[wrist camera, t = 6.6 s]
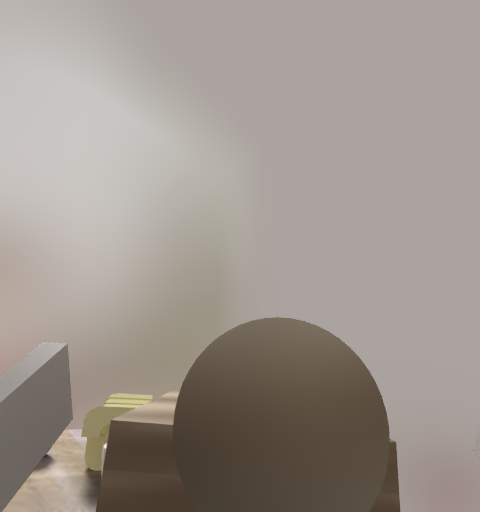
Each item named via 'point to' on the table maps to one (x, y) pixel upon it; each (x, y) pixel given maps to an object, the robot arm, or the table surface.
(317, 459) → the dowel
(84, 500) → the table surface
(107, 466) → the bridge
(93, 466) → the slatted curved stool
